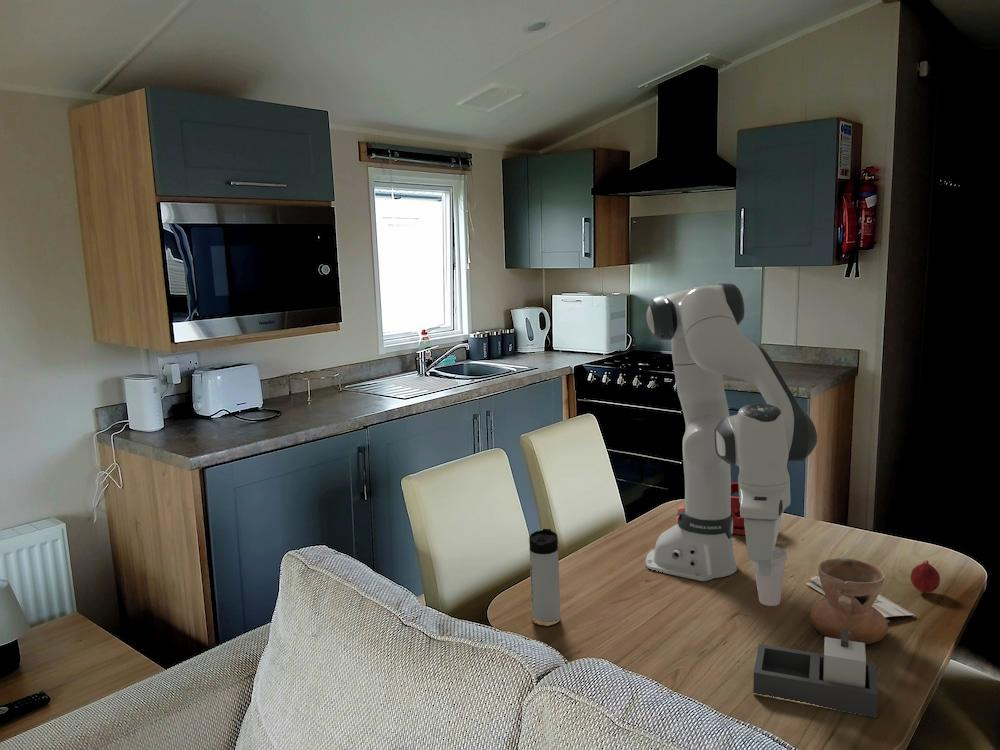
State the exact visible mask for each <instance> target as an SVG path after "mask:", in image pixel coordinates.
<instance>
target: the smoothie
mask: <svg viewBox="0 0 1000 750" xmlns="http://www.w3.org/2000/svg"><path fill="white" fill-rule="evenodd" d="M787 554H788V553H787V551H786V550H785V549H783V548H782V547H780V546H775V548H774V552H773V556H772V560H771V562H770V569H771V572H770V575H769V576H761V575H760V574H759V565H758V562H753V561H752V565H753V570H754V577H755V582H756V588H757V595H758V602H760V604H762V605H765V606H769V607H774V606H775V607H776V606H777V605H780V604H781V598H782V589H783V581H784V573H785V566H786V561H788V555H787Z"/></svg>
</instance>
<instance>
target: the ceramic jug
mask: <svg viewBox="0 0 1000 750" xmlns="http://www.w3.org/2000/svg"><path fill="white" fill-rule="evenodd" d="M817 569H818V576H819V577H820V581H821V585H822V588H823V591H824V593H825V595H824V596H825V598H826V599H823V600H821V601H819V602H817V603H815V605H814V606H813V607H812V609H811V611H810V616H809V617H810V621H811V623H812V625H813V626H814V628H815V629H816V630H817V632H818V633H820V634H821V635H823V636H824V637H829V638H835V639H841V629H842V630H848V641H855V642H861V643H865V645H871V644H875V643H877V642H879V641H881V640H882V639H884V637H885V636H886V635H887V633H888V630H889V624H888V623H887V621H886V619H887V618H886V617H884V616H883V615H882V614H881V613H880V612H879V611H878V610H876V609H875V608H874V607H872V605H873V603H874V602H875V600H876V598H877V596H878V594H880V592H881V589H882V588H883V585H884V582H885V573H884V572H883V570H881V569H880V568H879V567H877V566H875V565H874V564H872V563H870V562H868V561H862V560H860V559H856V558H847V557H846V558H845V557H844V558H842V557H834V558H828V559H826V560H822V561H821V562H820V563H818V568H817ZM885 618H886V619H885Z"/></svg>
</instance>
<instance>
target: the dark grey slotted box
mask: <svg viewBox="0 0 1000 750" xmlns="http://www.w3.org/2000/svg"><path fill="white" fill-rule="evenodd" d="M823 645H824V647H823V648H824V649H823V651H824V652H823V653H817V652H811V651H807V650H805V651H804V650H800V649H799V650H798V649H793V648H787V647H781V646H774V645H769V644H763V643H758V647H757V652H756V656H755V657H756V658H755V662H754V668H753V693H757V694H762V695H769V696H772V697H773V696H774V697H780V698H784V699H790V700H795V701H800V702H806V703H810V704H815V705H819V706H823V707H828V708H832V709H836V710H840V711H845V712H849V713H848V714H851V713H856V714H861V715H864V716H863V717H866V716H869V717H868V718H872V717H873V719H878V705H879V704H878V703H879V702H878V701H879V699H878V698H879V691H878V680H877V670H876V669H877V668H876V662H872V661H867V656H866V644H865V643H861V642H855V641H848V630H842V629H841V639H835V638H829V637H826V636H824V644H823ZM840 711H839V712H840ZM845 712H844V713H845ZM850 712H851V713H850ZM856 714H855V715H856ZM861 715H860V716H861Z"/></svg>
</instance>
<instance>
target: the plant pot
mask: <svg viewBox="0 0 1000 750" xmlns="http://www.w3.org/2000/svg"><path fill="white" fill-rule="evenodd" d="M735 493H736V494H739V486H738V481H736V482H731V513H732V515H733V534H735V535H743V536H744V535H745V526H744V518H742V517H741V516H740V503H739V496H734V495H733V494H735ZM745 536H746V535H745Z"/></svg>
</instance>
